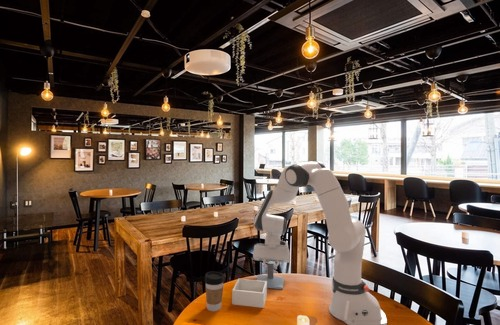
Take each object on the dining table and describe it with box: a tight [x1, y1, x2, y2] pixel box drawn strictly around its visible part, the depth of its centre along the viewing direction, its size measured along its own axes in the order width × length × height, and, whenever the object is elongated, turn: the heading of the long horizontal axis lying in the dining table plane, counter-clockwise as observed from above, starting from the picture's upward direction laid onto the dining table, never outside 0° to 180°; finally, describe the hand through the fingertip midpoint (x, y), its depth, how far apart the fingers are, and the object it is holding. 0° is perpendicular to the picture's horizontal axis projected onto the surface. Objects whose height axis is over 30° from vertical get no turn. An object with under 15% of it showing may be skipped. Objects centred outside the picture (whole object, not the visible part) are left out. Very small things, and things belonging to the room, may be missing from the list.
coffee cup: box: [204, 271, 225, 312], centre depth 115 cm, size 8×8×15 cm
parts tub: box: [231, 277, 268, 309], centre depth 123 cm, size 14×12×7 cm
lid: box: [255, 263, 285, 290], centre depth 139 cm, size 14×12×9 cm
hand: (270, 268), depth 142 cm, fingers open, 4 cm apart
